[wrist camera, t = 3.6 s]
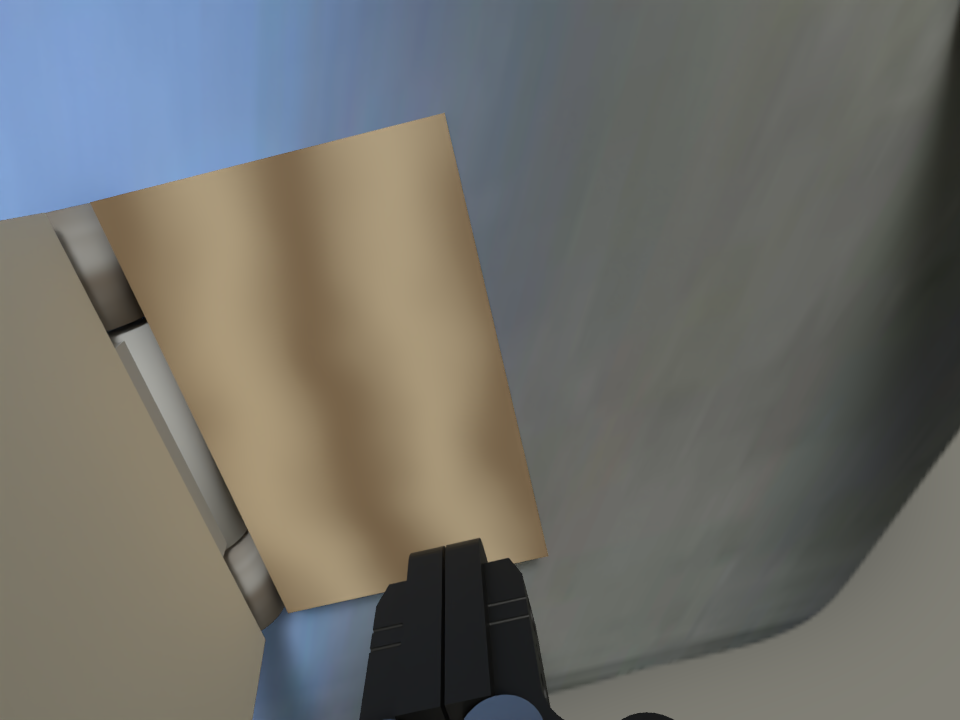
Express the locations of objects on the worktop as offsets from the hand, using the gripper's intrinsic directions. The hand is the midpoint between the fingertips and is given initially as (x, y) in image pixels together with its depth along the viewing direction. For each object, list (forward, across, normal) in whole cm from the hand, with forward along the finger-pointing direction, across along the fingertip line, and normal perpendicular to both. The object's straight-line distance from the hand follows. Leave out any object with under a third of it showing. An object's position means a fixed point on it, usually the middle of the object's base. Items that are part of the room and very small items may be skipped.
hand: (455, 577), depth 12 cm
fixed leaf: (+12, +4, 0) cm, 13 cm away
